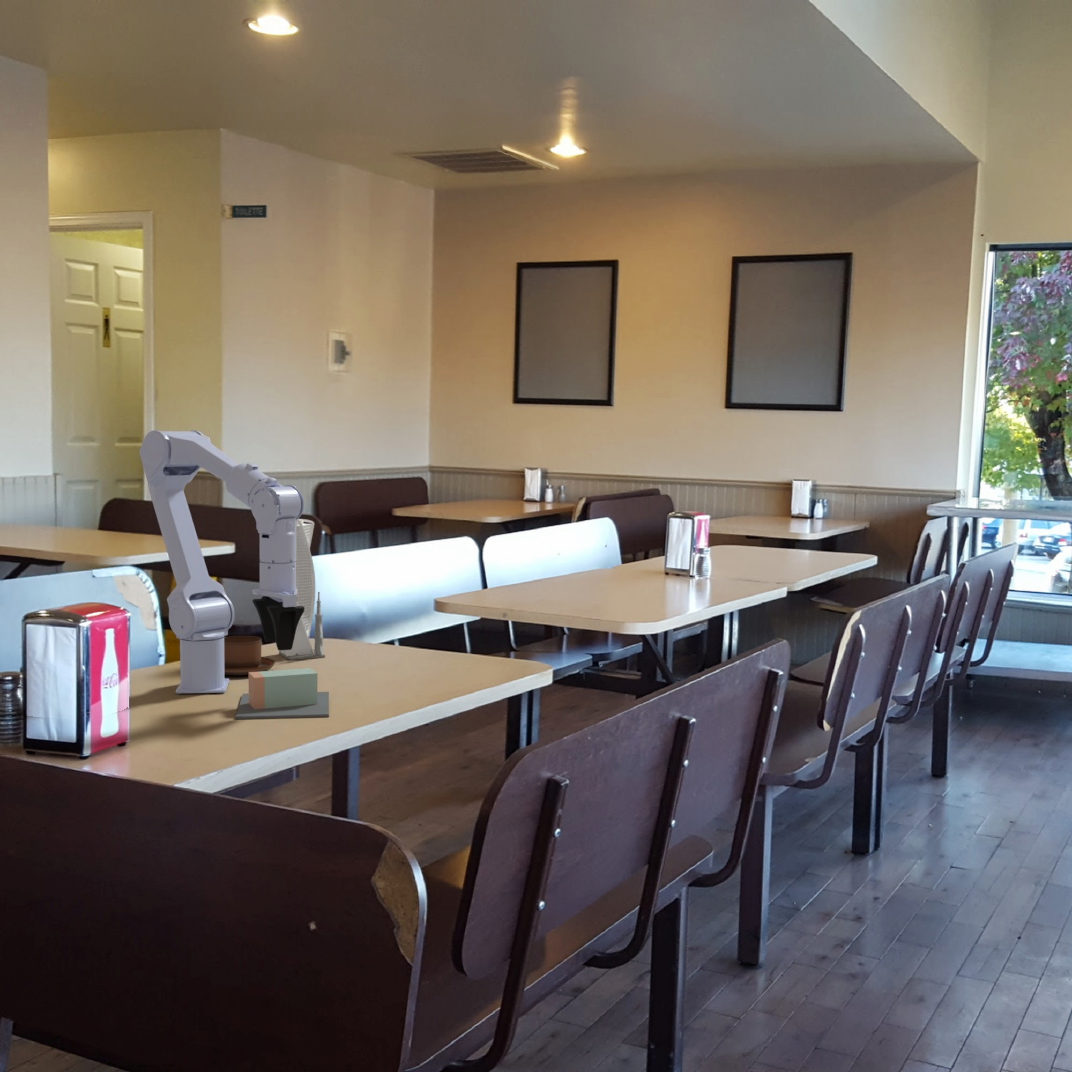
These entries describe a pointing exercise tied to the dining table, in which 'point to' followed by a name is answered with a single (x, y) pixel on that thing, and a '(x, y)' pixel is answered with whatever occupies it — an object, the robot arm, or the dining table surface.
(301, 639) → the skyscraper
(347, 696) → the dining table surface
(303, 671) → the green and orange block
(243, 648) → the cup and saucer
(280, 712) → the rubber mat
